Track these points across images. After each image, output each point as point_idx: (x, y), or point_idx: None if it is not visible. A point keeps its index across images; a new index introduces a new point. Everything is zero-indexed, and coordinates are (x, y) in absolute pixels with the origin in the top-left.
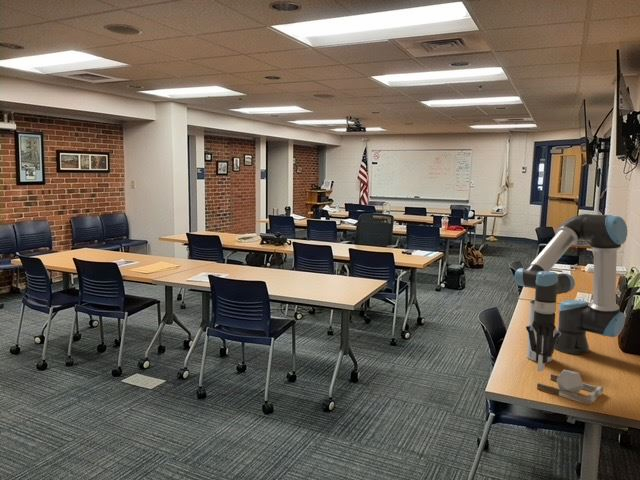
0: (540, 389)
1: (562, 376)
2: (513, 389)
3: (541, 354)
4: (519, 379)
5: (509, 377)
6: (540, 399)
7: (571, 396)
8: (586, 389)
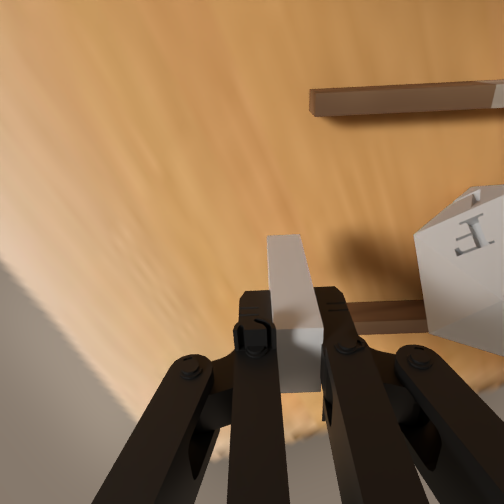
0: None
1: (486, 346)
2: None
3: (296, 368)
4: (168, 270)
5: (114, 286)
6: None
7: None
8: None
